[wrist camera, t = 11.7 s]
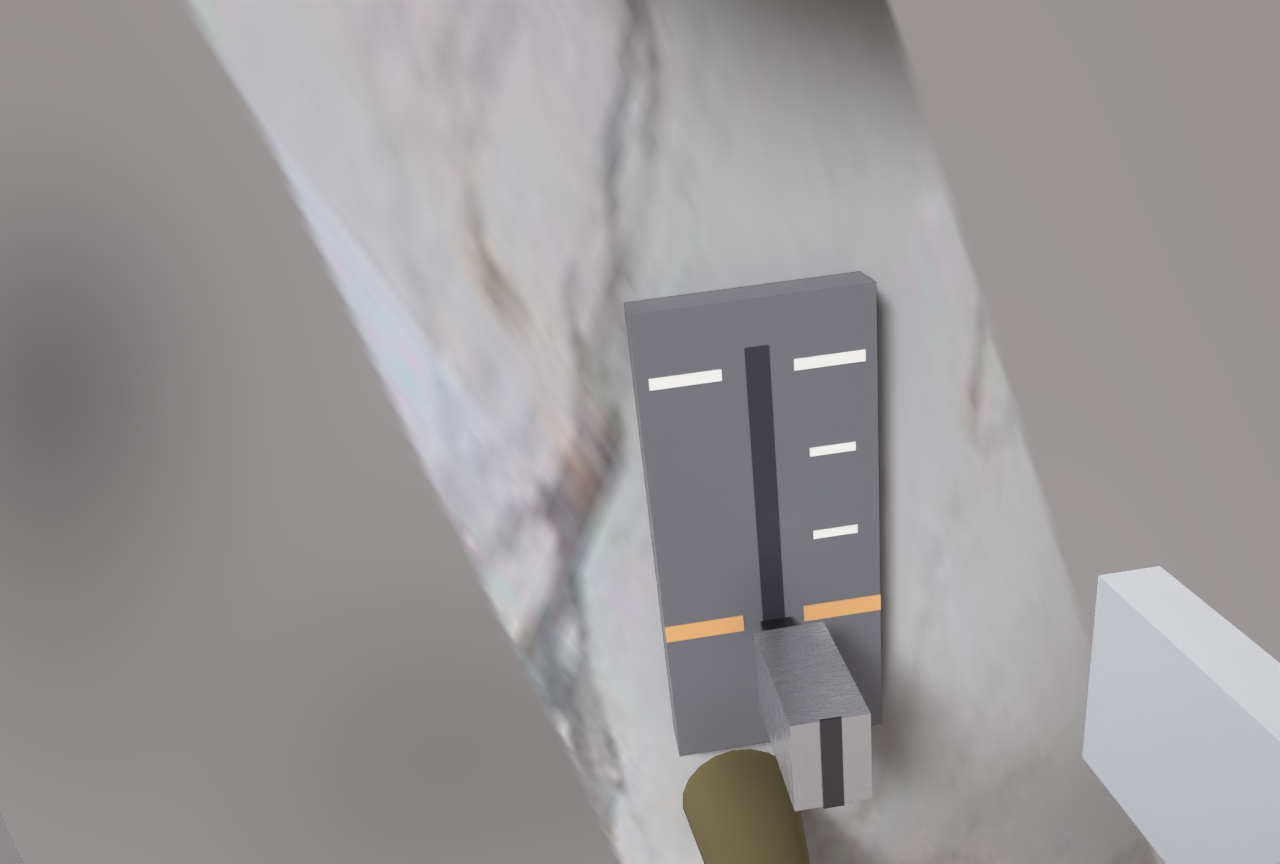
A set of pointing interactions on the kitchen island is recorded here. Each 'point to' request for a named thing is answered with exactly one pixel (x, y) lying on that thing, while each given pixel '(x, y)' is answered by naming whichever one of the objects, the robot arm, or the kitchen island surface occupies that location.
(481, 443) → the kitchen island surface
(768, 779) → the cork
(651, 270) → the kitchen island surface
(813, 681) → the fader knob
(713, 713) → the fader console
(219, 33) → the kitchen island surface
